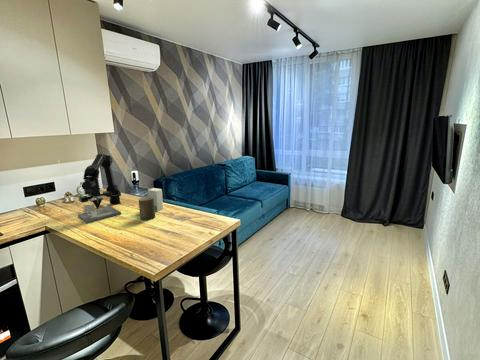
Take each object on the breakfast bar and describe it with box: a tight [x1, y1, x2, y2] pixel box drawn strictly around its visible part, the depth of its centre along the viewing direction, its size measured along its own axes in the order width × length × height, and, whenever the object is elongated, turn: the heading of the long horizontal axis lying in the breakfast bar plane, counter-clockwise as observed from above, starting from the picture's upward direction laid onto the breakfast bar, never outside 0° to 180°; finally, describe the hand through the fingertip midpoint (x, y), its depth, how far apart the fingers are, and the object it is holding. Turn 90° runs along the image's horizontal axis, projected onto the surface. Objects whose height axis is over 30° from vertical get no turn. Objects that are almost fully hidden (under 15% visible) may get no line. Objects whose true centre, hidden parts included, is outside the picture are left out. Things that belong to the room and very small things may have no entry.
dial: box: [82, 203, 96, 214], centre depth 181 cm, size 6×3×6 cm, turn 137°
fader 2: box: [102, 204, 109, 211], centre depth 184 cm, size 2×3×4 cm
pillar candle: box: [137, 195, 156, 221], centre depth 175 cm, size 10×10×15 cm
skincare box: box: [147, 187, 164, 213], centre depth 190 cm, size 8×7×16 cm
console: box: [77, 206, 122, 225], centre depth 181 cm, size 22×18×2 cm
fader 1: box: [91, 211, 97, 218], centre depth 173 cm, size 2×3×4 cm
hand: (97, 208), depth 174 cm, fingers closed
